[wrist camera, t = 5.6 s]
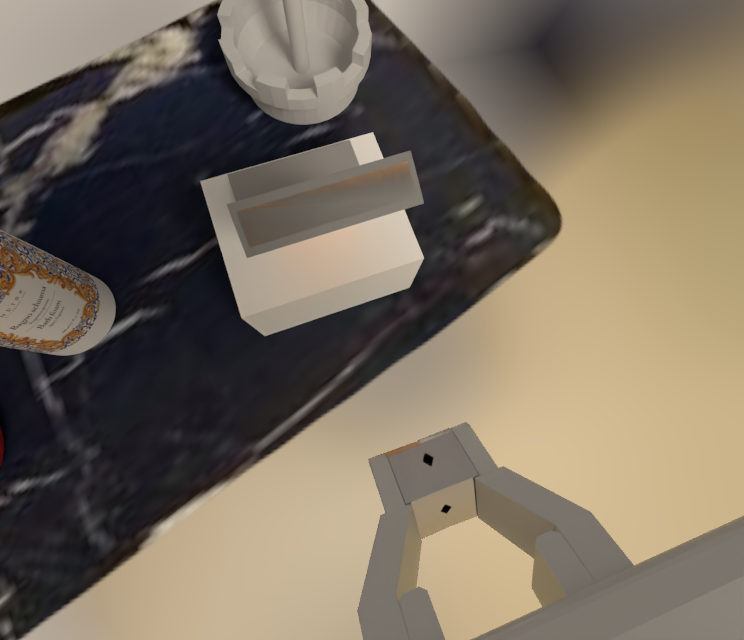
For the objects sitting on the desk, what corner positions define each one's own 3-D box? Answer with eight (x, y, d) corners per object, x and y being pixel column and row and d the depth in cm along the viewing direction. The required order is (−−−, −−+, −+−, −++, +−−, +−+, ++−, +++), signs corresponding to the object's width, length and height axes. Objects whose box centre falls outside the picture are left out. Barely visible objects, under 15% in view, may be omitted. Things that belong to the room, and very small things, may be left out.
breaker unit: (409, 287, 34) (425, 254, 26) (264, 336, 32) (238, 316, 25) (368, 184, 36) (373, 126, 28) (230, 225, 34) (196, 176, 27)
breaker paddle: (360, 221, 27) (424, 203, 14) (272, 248, 26) (247, 258, 13) (352, 195, 27) (410, 150, 13) (262, 222, 26) (226, 204, 12)
